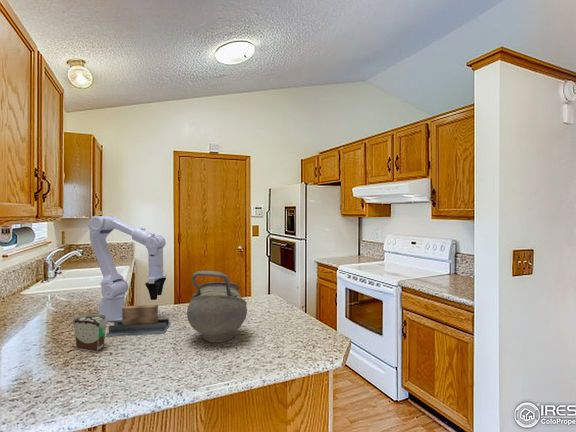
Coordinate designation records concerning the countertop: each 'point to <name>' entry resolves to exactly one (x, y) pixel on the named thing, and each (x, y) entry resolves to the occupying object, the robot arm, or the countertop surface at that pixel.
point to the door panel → (140, 314)
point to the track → (138, 328)
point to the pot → (216, 308)
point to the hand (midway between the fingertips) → (156, 297)
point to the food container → (90, 332)
